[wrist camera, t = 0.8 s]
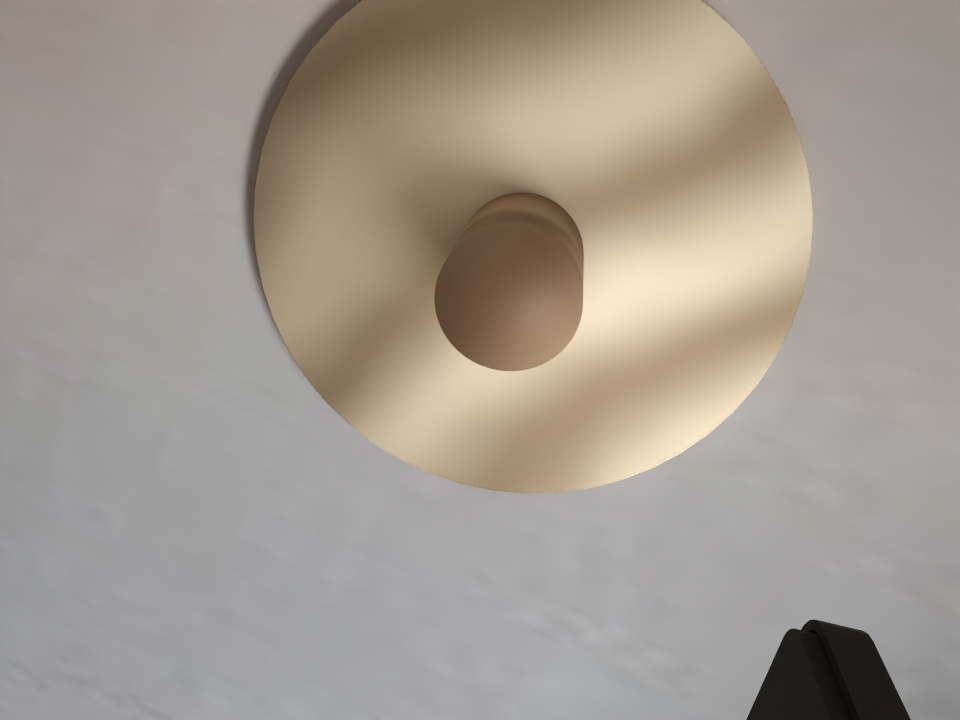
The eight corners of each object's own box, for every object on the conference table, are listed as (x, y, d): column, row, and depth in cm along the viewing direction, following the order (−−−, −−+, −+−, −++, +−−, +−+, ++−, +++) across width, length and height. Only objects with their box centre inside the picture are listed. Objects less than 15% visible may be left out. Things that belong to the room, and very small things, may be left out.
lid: (913, 296, 26) (998, 369, 21) (485, 556, 32) (463, 666, 27) (580, -204, 22) (577, -278, 17) (160, 198, 28) (56, 241, 23)
